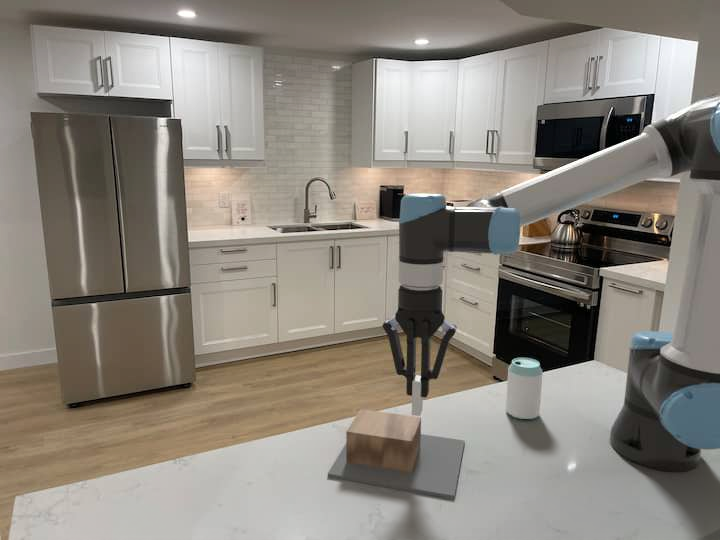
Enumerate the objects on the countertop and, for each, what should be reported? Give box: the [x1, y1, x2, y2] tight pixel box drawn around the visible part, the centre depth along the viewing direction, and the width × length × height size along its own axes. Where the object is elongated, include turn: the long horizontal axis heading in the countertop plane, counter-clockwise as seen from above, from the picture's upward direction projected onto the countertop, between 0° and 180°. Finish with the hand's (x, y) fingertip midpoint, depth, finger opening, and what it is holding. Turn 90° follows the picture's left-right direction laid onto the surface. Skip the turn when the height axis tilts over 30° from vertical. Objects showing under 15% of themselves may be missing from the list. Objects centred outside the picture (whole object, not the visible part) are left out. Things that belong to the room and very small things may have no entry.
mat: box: [327, 433, 466, 500], centre depth 97 cm, size 22×18×1 cm
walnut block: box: [345, 408, 422, 472], centre depth 98 cm, size 6×9×12 cm
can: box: [505, 357, 544, 420], centre depth 114 cm, size 7×7×12 cm
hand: (417, 412), depth 95 cm, fingers closed
